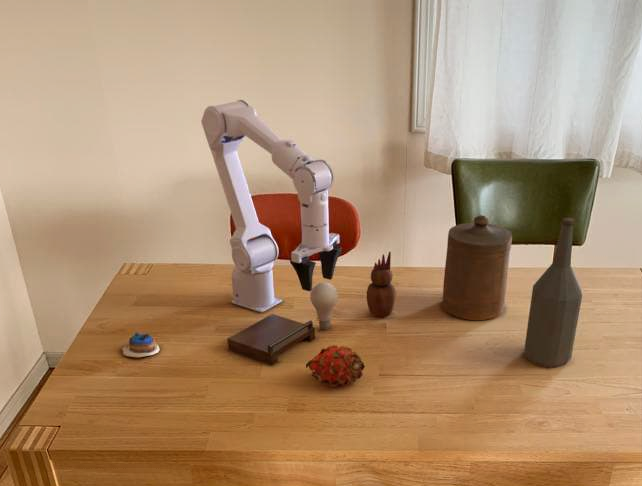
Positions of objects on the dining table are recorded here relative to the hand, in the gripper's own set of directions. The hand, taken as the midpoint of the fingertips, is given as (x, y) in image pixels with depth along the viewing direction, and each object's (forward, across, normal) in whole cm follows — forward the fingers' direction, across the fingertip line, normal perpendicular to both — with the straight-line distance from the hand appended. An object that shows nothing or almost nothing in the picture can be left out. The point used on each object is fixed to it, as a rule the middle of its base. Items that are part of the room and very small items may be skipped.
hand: (317, 284), depth 174 cm
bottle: (+11, +17, -49) cm, 53 cm away
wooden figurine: (+11, +14, -8) cm, 19 cm away
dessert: (+11, -31, +24) cm, 41 cm away
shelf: (+10, -12, +3) cm, 17 cm away
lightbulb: (+11, 0, -2) cm, 11 cm away
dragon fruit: (+11, -18, -18) cm, 27 cm away
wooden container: (+11, +30, -24) cm, 40 cm away
